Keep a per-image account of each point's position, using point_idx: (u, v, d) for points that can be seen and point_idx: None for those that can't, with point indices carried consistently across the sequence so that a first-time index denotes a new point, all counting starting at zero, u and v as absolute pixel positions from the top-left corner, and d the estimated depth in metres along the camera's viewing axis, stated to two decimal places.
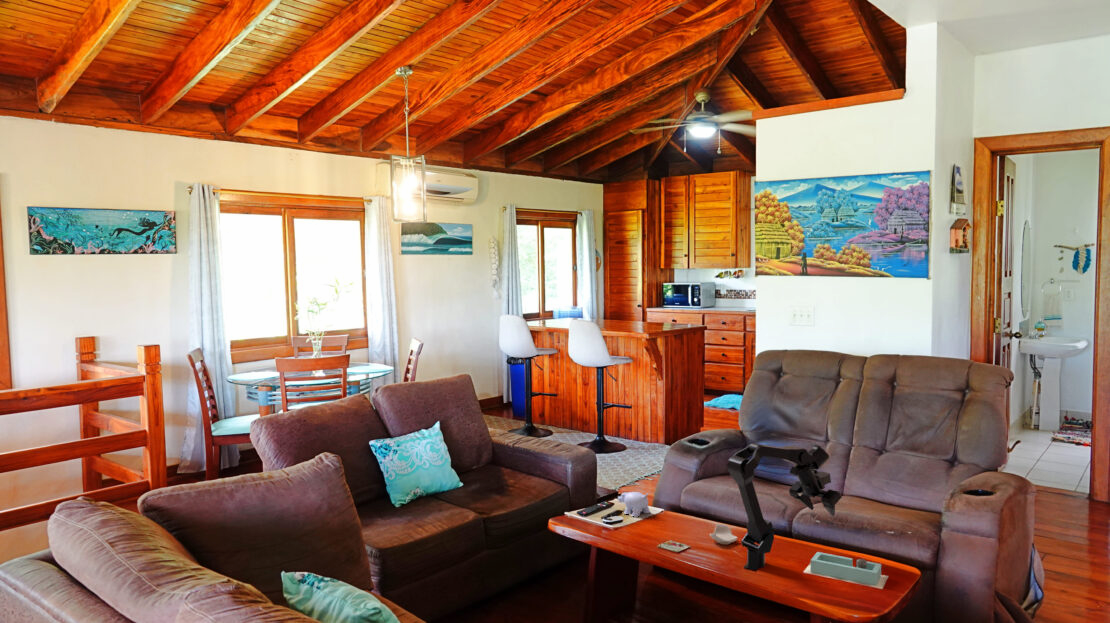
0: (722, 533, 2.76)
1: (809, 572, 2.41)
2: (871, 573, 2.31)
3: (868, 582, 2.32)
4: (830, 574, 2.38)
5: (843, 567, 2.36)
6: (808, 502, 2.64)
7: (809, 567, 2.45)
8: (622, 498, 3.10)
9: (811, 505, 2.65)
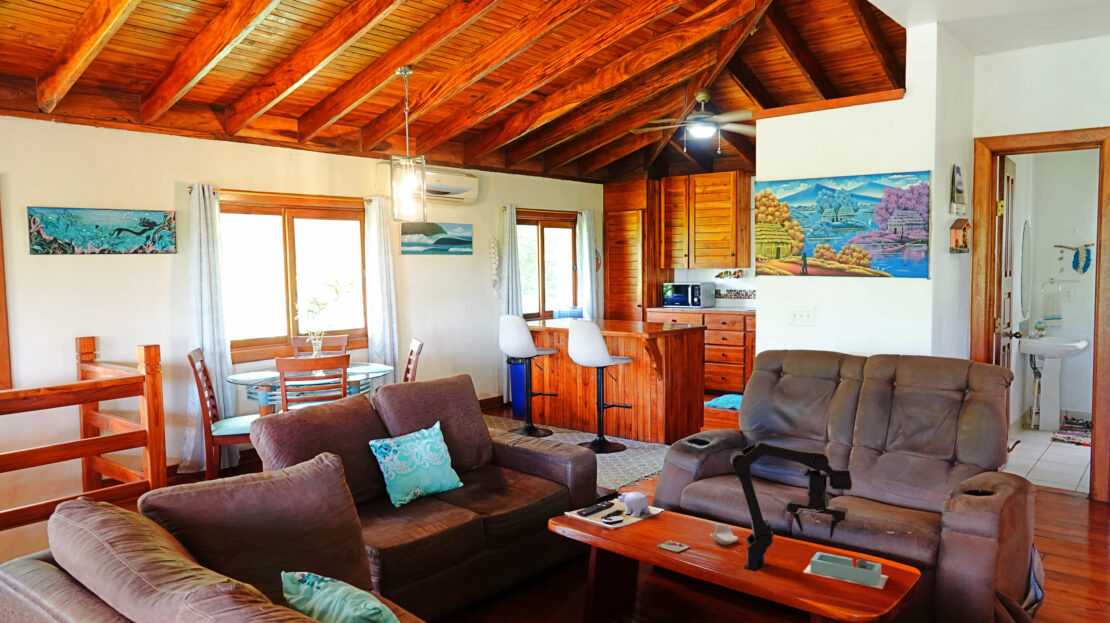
0: (723, 533, 2.76)
1: (809, 572, 2.41)
2: (871, 573, 2.31)
3: (868, 582, 2.32)
4: (830, 574, 2.38)
5: (843, 567, 2.36)
6: (802, 523, 2.47)
7: (809, 567, 2.45)
8: (622, 498, 3.10)
9: (803, 527, 2.47)
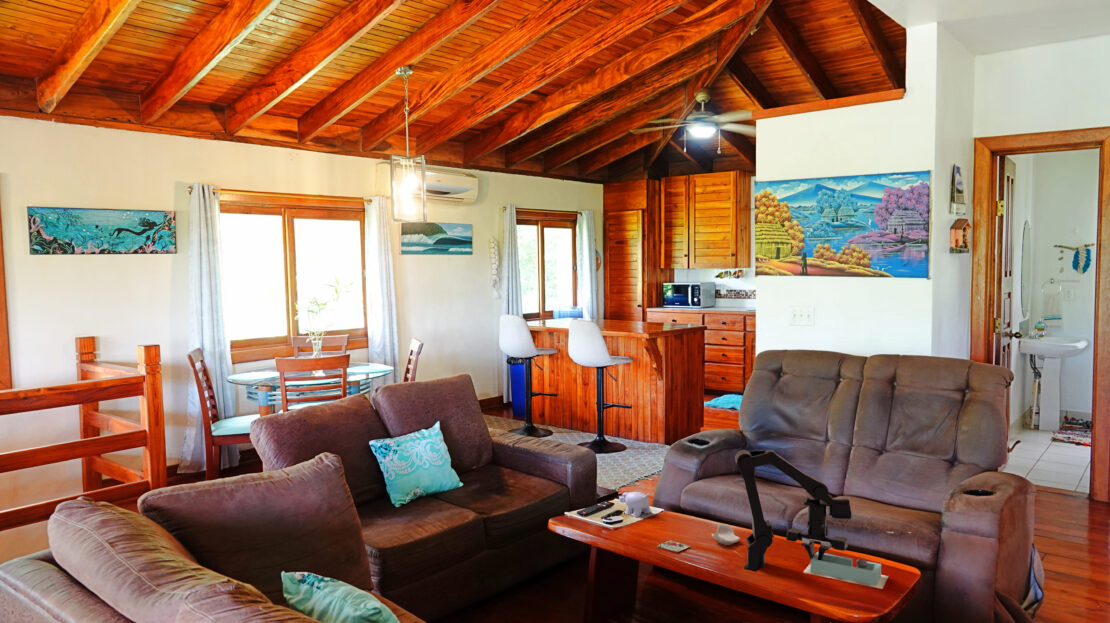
0: (724, 533, 2.76)
1: (809, 572, 2.41)
2: (871, 573, 2.31)
3: (868, 582, 2.32)
4: (830, 574, 2.38)
5: (843, 567, 2.36)
6: (813, 554, 2.45)
7: (809, 567, 2.45)
8: (623, 498, 3.10)
9: None
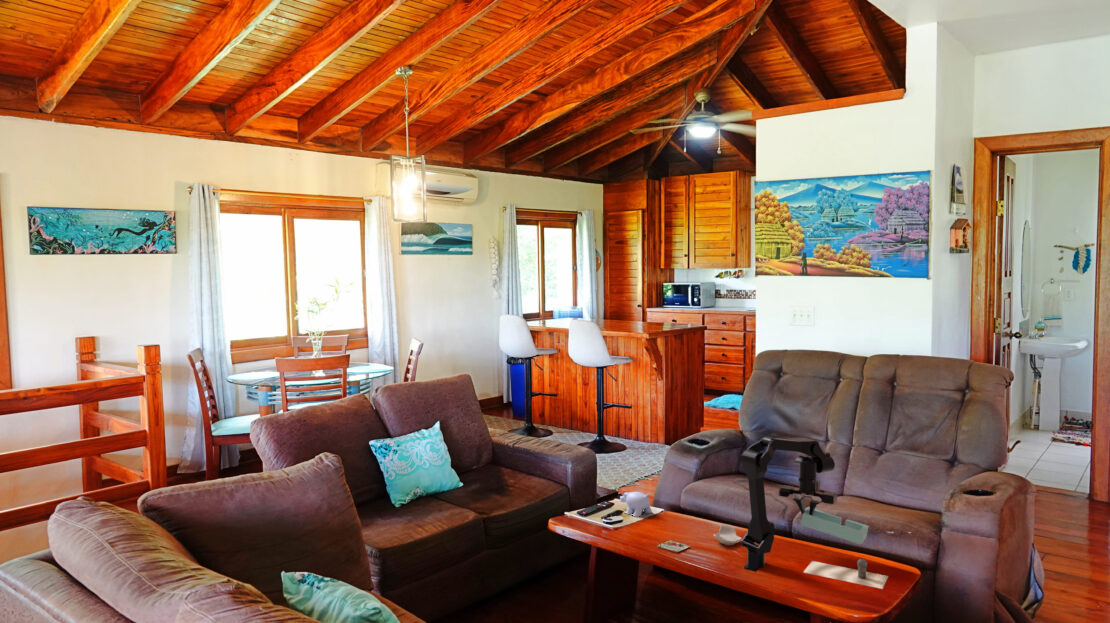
0: (726, 534, 2.75)
1: (809, 572, 2.41)
2: (858, 533, 2.45)
3: (854, 540, 2.46)
4: (819, 529, 2.52)
5: (832, 524, 2.50)
6: (803, 508, 2.59)
7: (809, 567, 2.45)
8: (624, 498, 3.10)
9: None
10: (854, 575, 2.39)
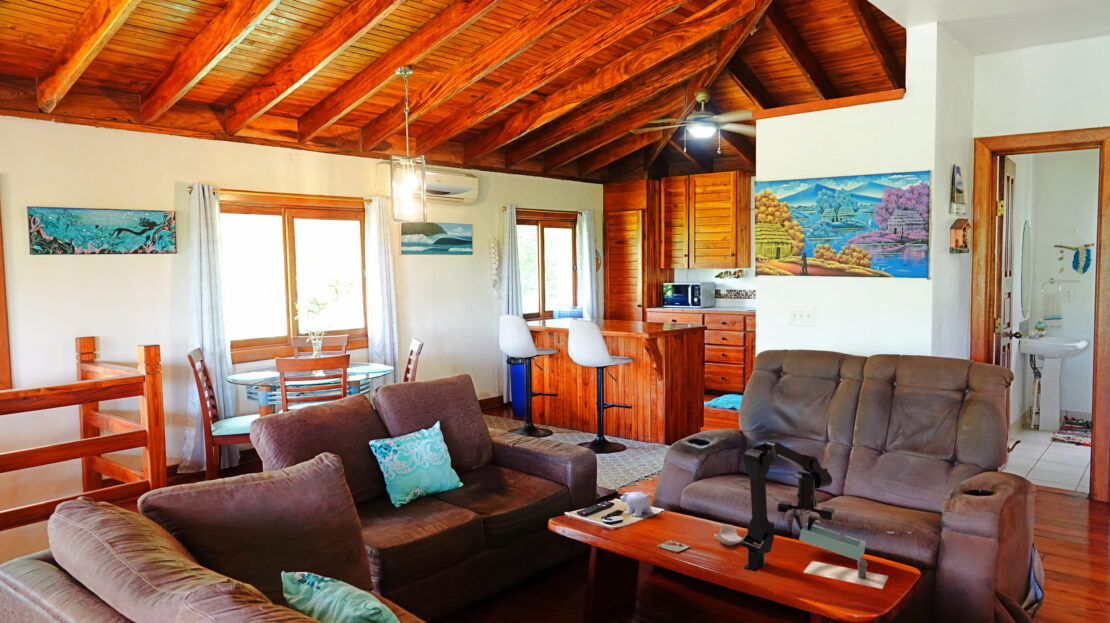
0: (728, 534, 2.75)
1: (809, 572, 2.41)
2: (856, 549, 2.47)
3: (852, 557, 2.48)
4: (817, 545, 2.54)
5: (830, 540, 2.51)
6: (802, 524, 2.60)
7: (809, 567, 2.45)
8: (624, 498, 3.11)
9: None
10: (854, 575, 2.39)
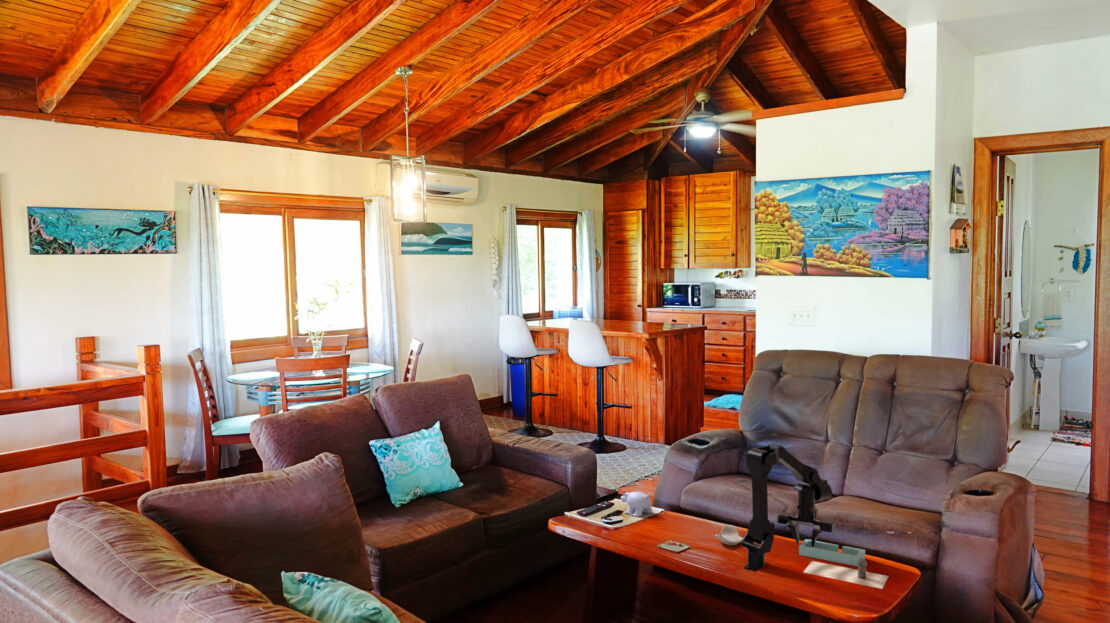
0: (729, 534, 2.75)
1: (809, 572, 2.41)
2: (855, 558, 2.47)
3: None
4: None
5: (829, 552, 2.52)
6: (798, 535, 2.61)
7: (809, 567, 2.45)
8: (625, 498, 3.11)
9: (798, 539, 2.62)
10: (854, 575, 2.39)
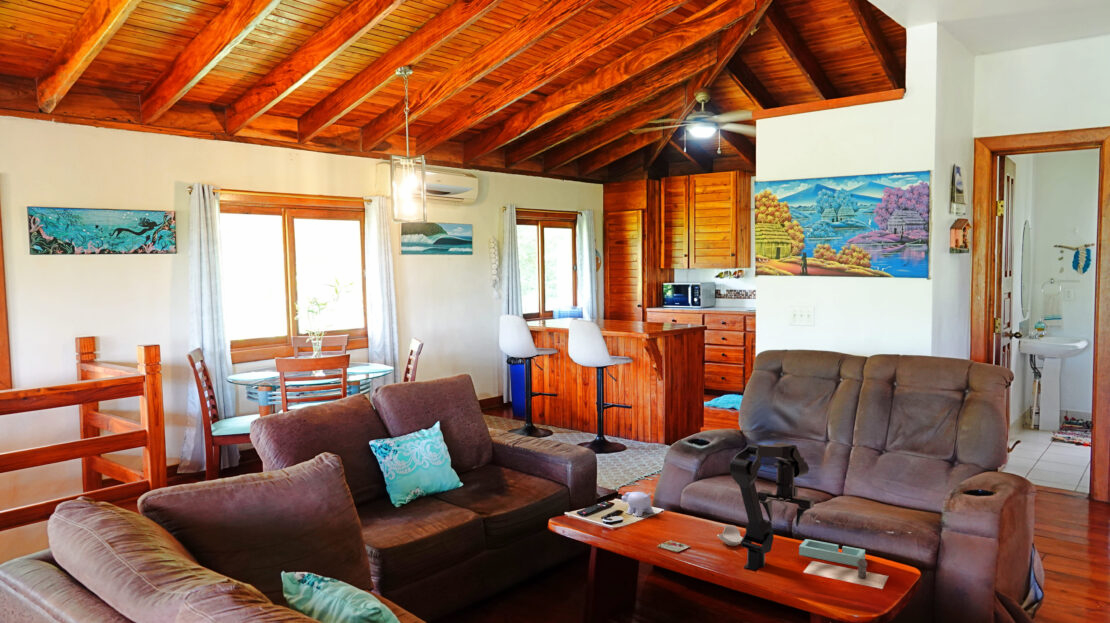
0: (731, 534, 2.75)
1: (809, 572, 2.41)
2: (855, 558, 2.47)
3: None
4: None
5: (829, 552, 2.52)
6: (770, 511, 2.60)
7: (809, 567, 2.45)
8: (626, 497, 3.11)
9: (771, 515, 2.60)
10: (854, 575, 2.39)
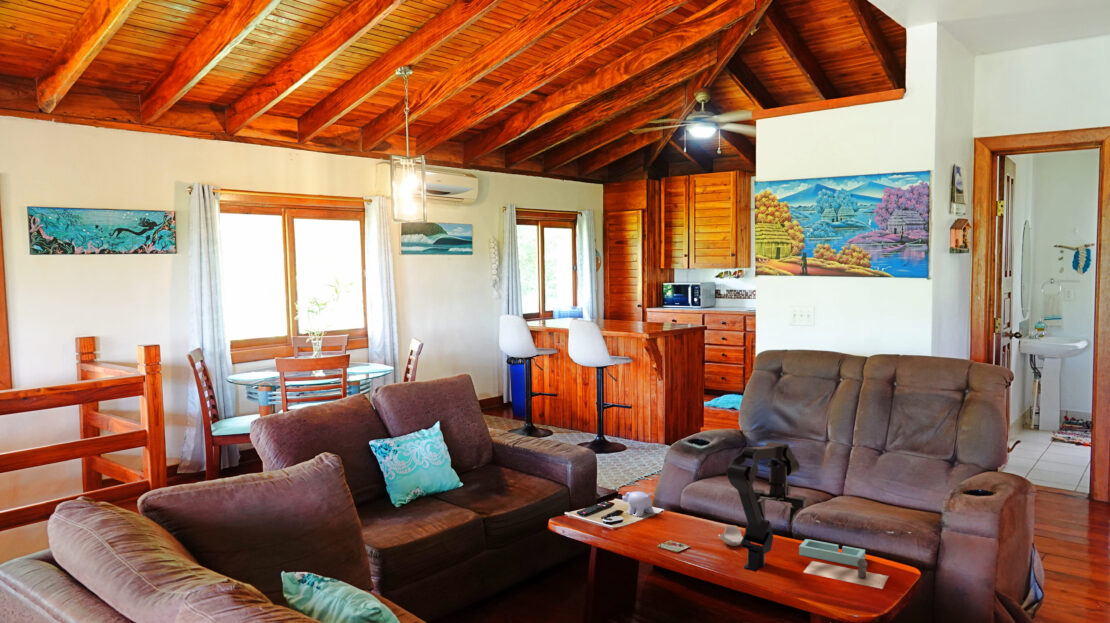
0: (732, 534, 2.75)
1: (809, 572, 2.41)
2: (855, 558, 2.47)
3: None
4: None
5: (829, 552, 2.52)
6: (764, 511, 2.60)
7: (809, 567, 2.45)
8: (626, 497, 3.11)
9: (764, 515, 2.60)
10: (854, 575, 2.39)
